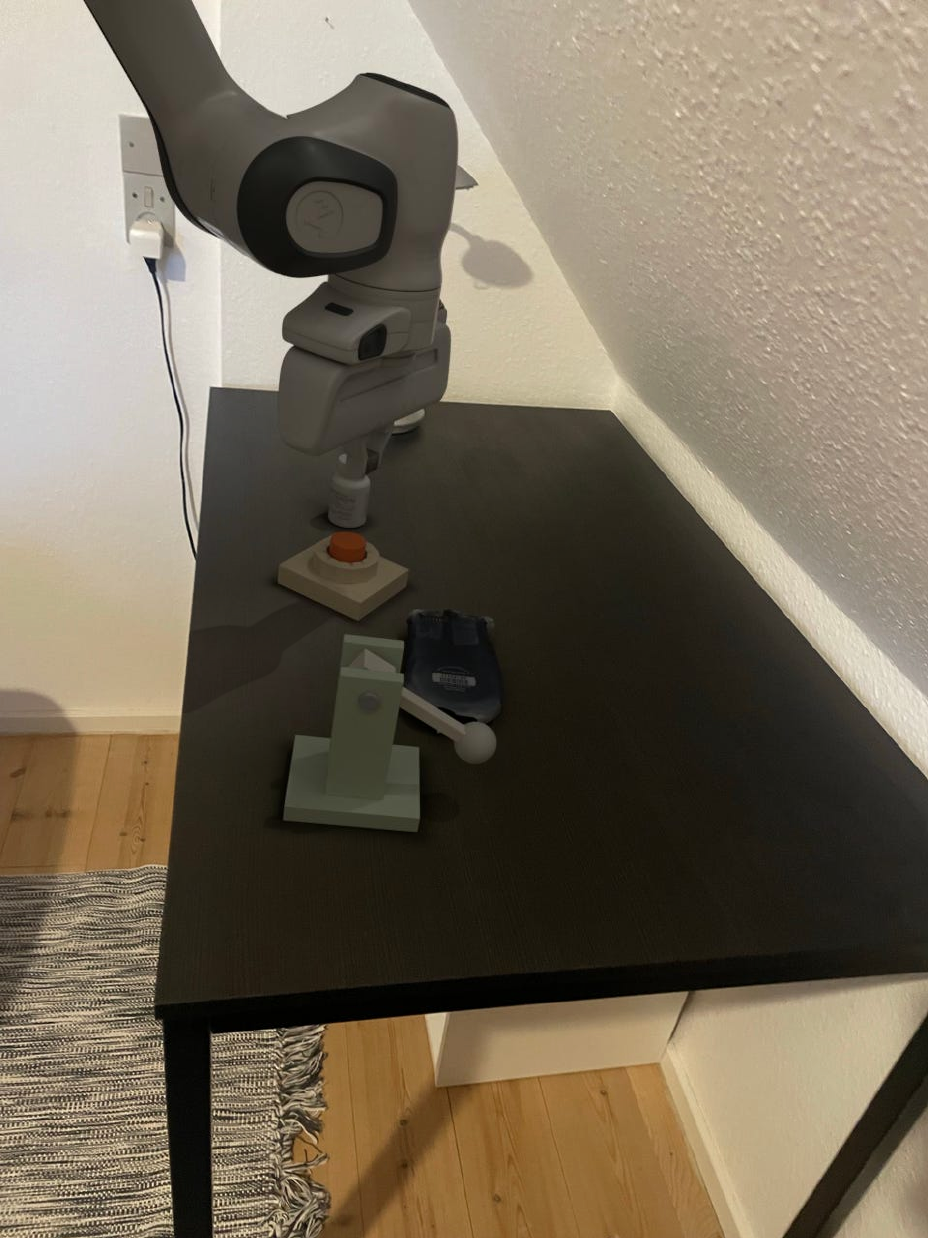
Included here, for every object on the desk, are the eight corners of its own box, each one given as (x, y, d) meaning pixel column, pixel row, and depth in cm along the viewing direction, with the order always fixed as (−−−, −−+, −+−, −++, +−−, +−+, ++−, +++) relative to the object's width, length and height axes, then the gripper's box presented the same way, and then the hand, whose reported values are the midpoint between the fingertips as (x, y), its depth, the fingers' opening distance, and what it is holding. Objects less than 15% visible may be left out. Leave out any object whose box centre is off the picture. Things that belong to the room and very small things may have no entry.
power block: (277, 583, 96) (280, 549, 94) (329, 552, 103) (333, 519, 101) (357, 621, 93) (362, 587, 91) (406, 586, 100) (411, 554, 98)
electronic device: (391, 645, 93) (398, 727, 80) (406, 595, 91) (416, 671, 78) (481, 665, 95) (502, 747, 82) (498, 616, 93) (523, 693, 80)
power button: (321, 554, 95) (323, 539, 95) (342, 542, 98) (344, 527, 97) (351, 568, 94) (353, 552, 93) (371, 555, 97) (373, 540, 96)
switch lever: (476, 751, 74) (503, 726, 73) (478, 779, 72) (506, 754, 70) (342, 668, 69) (369, 640, 68) (339, 695, 67) (367, 666, 65)
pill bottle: (351, 508, 113) (358, 448, 109) (372, 525, 110) (381, 464, 106) (320, 514, 110) (326, 453, 106) (341, 532, 108) (349, 470, 103)
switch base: (416, 760, 78) (441, 633, 71) (417, 832, 71) (444, 700, 64) (293, 748, 76) (307, 617, 69) (282, 820, 70) (296, 684, 63)
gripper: (417, 283, 84) (397, 429, 91) (266, 321, 68) (258, 494, 75) (478, 303, 82) (453, 450, 89) (338, 347, 66) (321, 522, 73)
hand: (362, 471), depth 82 cm, fingers closed
